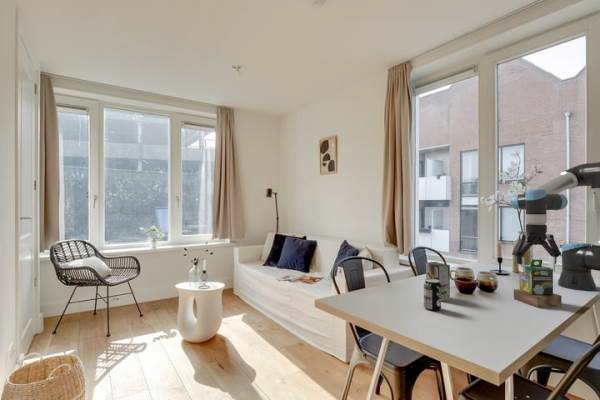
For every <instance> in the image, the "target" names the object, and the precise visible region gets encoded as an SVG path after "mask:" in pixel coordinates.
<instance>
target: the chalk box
mask: <svg viewBox="0 0 600 400" xmlns="http://www.w3.org/2000/svg"><path fill="white" fill-rule="evenodd" d="M535 263H538V264H535ZM518 273H519V289H520V290H523V291H525V292H527V293H530V294H532V295H553V293H554V272H553V269H551V268H549V266H548V267H547V266H544V265H543V259H531V263H530V264H525V272H521V271H519V270H518Z"/></svg>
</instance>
